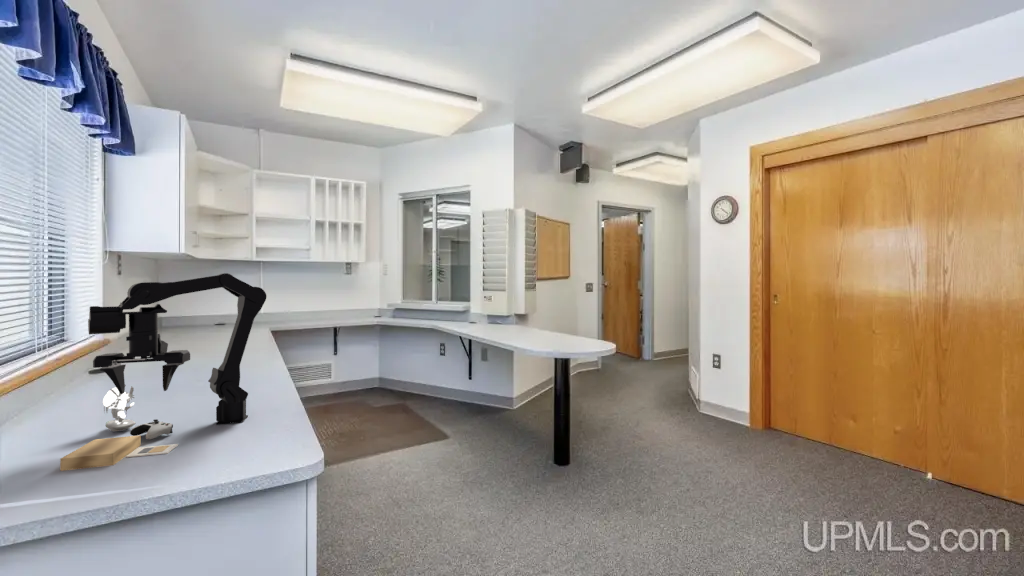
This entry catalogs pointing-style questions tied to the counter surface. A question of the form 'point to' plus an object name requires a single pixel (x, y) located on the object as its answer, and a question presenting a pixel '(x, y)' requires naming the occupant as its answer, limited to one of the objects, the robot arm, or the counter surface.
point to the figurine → (118, 409)
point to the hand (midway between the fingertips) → (144, 392)
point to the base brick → (100, 453)
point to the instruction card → (152, 450)
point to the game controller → (152, 429)
